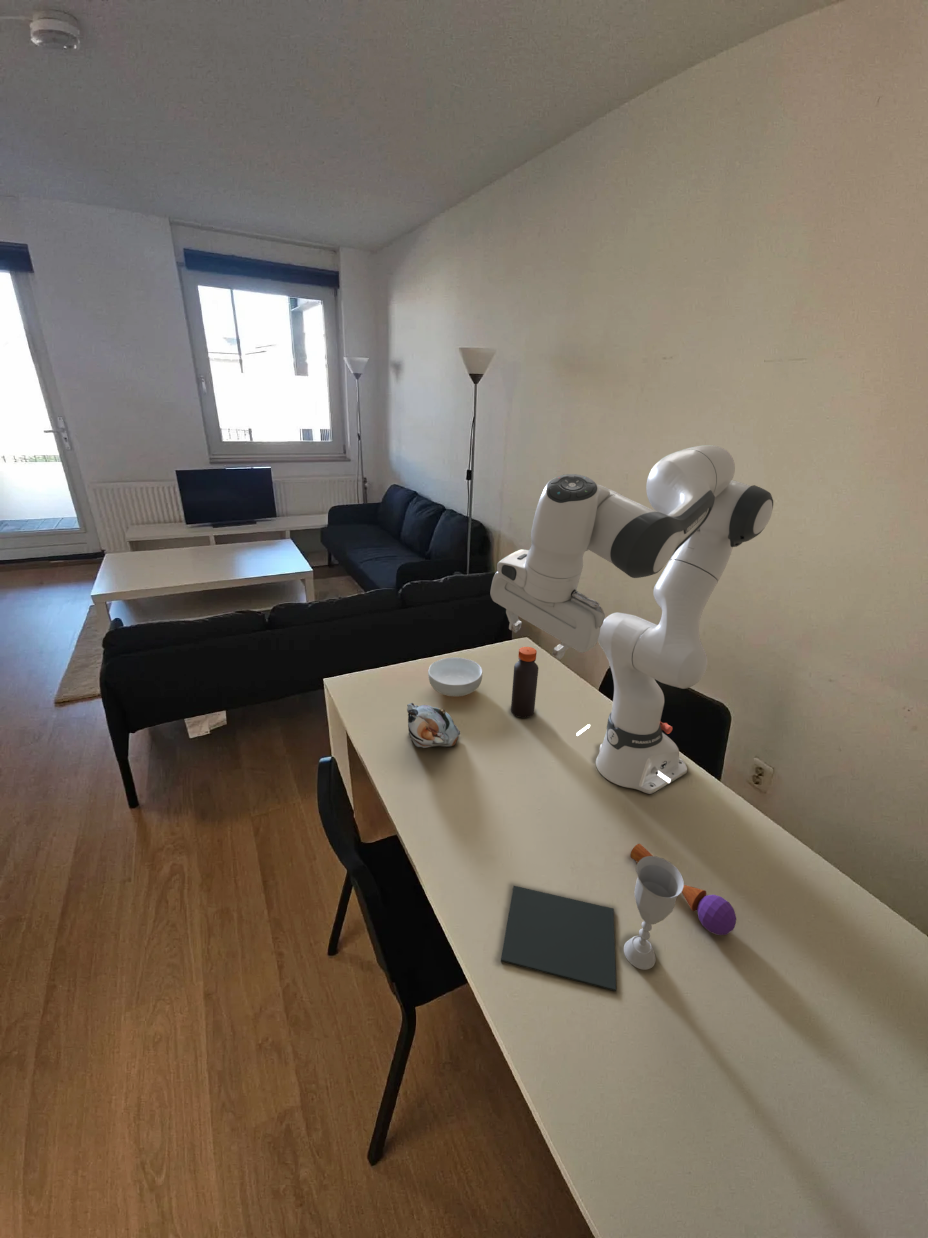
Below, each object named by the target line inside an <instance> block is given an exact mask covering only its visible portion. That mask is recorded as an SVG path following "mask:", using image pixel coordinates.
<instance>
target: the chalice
mask: <svg viewBox="0 0 928 1238" xmlns="http://www.w3.org/2000/svg"><path fill="white" fill-rule="evenodd" d="M635 869H636V870H635V872H636V876H637V878H636V882H635V886H634V893H633V894H634V899H635V904H636V909H637V910H638V913H639V916H640V918H641V919H642V920H643V921H642V922H641V928H640V929H639V930H638V935H634V936H632V937H631V938H629V939H628V940H627V941H625V943H624V946H623V955H624V957H625V958H626V960H627V961H628V962H629V964H630V965H632V966H634V967H635V968H636V969H640V970H644V971H645V970H646V971H647V970H650V969H651V968H653V967H654V966H655V965H656V964H655V963H656V954H655V951H654V948H653V945H652V943H651V942H650V941H649V940H650V938H651V933H650V932H651V931H652V929H653V927H652V926H653V925H657V924H658V923H660V922H662V921H664V920H665V919H667V917H668V916H669V915H671V913H673V910H674V909H675V905H676V901H677V897H678V896H679V895H680V894H682V890H683V887H684V885H685V884H684V883H685V882H684V879H683V876H682V873H681V872H680V870H679V868H678V867H676V866H675V865H674V864H673V863H672V862H670V861H669V860H667V859H665V858H663V857H660V856H656V855H653V856H647V857H644V858H642V859H641V860H640V861H639V862H637V864H636V868H635Z"/></svg>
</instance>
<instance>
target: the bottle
mask: <svg viewBox="0 0 928 1238" xmlns="http://www.w3.org/2000/svg"><path fill="white" fill-rule="evenodd" d="M537 652H538V651H537V649H535V648H534V647H532V646H521V647H519V648H518V657H517V658H518V660H517V661H516V662H515V663H514V665H513V674H512V675H513V676H512V679H513V680H512V689H511V690H512V691H511V701H510V704H511V705H510V713H512V714H513V716H515V717H518V718H521V719H525V718H526V719H527V718H529V717H532V716H533V715H534V713H535V707H536V698H537V687H538V678H539V665H538V664H537V663H536V660H537Z"/></svg>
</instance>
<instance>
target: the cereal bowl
mask: <svg viewBox="0 0 928 1238" xmlns="http://www.w3.org/2000/svg"><path fill="white" fill-rule="evenodd" d="M427 670H428V672H427V676H428V681H429V684H430V686H431V688H433V689H434V690H435V691H436V692H437V693H439V694H441V695H444V696H447V697H464V696H466V695H469V694H472V693H474V692H475V691H476V690H477V689H478V688H479V687H480V686H481V683H482V680H483V668H482V667H481V665H480V664H479V663H478V662H476V661H475V660H472V659H470V658H465V657H459V656H458V657H456V656H454V657H453V656H452V657H444V658H441V659H438V660H436V661H434V662H432V663H431V664H430V665H429V667H428V669H427Z"/></svg>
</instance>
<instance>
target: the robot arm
mask: <svg viewBox="0 0 928 1238" xmlns="http://www.w3.org/2000/svg"><path fill="white" fill-rule="evenodd" d="M735 472H736V464H735V460H734V458H733V456H732V454H731V453H730V452H729V451H728V450H727V449H725V448H724V447H722V446H719V445H715V444H714V445H712V444H705V445H695V446H691V447H687V448H683V449H680V450H677V451H674V452H672V453H669V454H667V455H665V456H663V457H662V458H660V460H658V461H657V462H656V463H655V464H654V465H653V466H652V467H651V469H650V471H649V474H648V475H647V479H646V484H645V489H646V496H647V500H648V502H649V504H650V506H651V508H650V507H648V506H646V505H644V504H642V503H640V502H637V501H635V500H633V499H632V498H630V497H627V496H625V495H623V494H622V493H619V492H617V491H615V490H613V489H611V488H609V487H607V486H604V485H602V484H599V483H597V482H595V481H594V480H593V479H592V478H590V477H588V476H586V475H581V474H577V473H566V474H561V475H557V476H555V477H553V478H551V479H550V480H549V481H548V482H547V483H546V484H545V486H544V488H543V489H542V492H541V493H540V497H539V499H538V502H537V505H536V508H535V513H534V517H533V520H532V525H531V531H530V540H531V541H530V542H531V544H530V547H529V549H518V550H516V551H514V552H512V553H510V554H508V555H506V556H505V557H503V558H502V559H501V560H499V561H498V562H497V564H496V572H495V573H494V575H493V577H492V581H491V584H490V585H491V586H490V591H489V592H490V593H489V594H490V598H491V600H492V601H493V602H494V603H496V604H498V605H499V606H500V607H502V608H504V609H505V614H506V617H507V620H508V622H509V625H508V629H509V630H510V631H512V632H513V633H515V634H516V633H517V632H519V631H520V630H521V628H522V624H523V621H521V620H520V619H519V618H521V619H522V620H524V621H525V622H527V623H529V624H531V625H533V626H535V627H536V628H538V629H539V630H541V631H542V632H545V633H546V634H548V635H550V636H551V637H553V638H555V639H556V640H558V641H560V643H558V644H557V645H556V646H555V647H553V649H552V653H551V656H552V657H554V658H555V659H557V660H558V661H559V660H562V658H564V656H565V654H566V651H567V650H569V649H570V648H571V649H573V650H575V651H576V652H578V653H580V654H585V653H587V652H590V651H591V650H592V649H593V648H594V647H595V646H596V645H597V644H598V645H599V647H600V648H601V650H602V651H603V653H604V655H605V657H606V659H607V661H608V664H609V667H610V671H611V674H612V680H613V698H612V706H611V711H610V713H609V715H608V718H607V723H606V731H605V735H604V736H603V737H604V738H603V742H602V743H600V745H599V752H598V755H597V757H596V759H595V767H596V769H597V770H598V771H597V772H599V774H600V775H601V776H602V777H603V778H605V779H606V780H608V781H609V782H611V783H613V784H615V785H617V786H620V787H623V788H628V789H632V790H633V789H634V790H637V791H640V792H643V793H644V794H649V795H653V794H654V793H656V792H657V791H659V790H661V789H662V788H664V787H666V786H668V785H670V784H671V783H672V782H674V781H676V780H677V779H679V778H681V777H683V776H684V775H686V774H687V773H688V767H687V765H686V763H685V761H684V760H683V759H682V758H681V757H680V749H679V747H678V745H677V744H676V743H675V742H674V740H673V739H671V738H670V737H669V736H668V734H671V733H672V731H673V726H671V725H669V724H668V722H662V720H661V719H662V715H663V710H664V707H665V695H664V692H663V690H662V688H661V687H660V685H659V684H658V683H657V681H658V682H660V683H661V684H665V685H668V686H671V687H675V688H679V689H682V690H685V689H689V688H691V687H693V686H695V685H697V684H698V683H699V682H700V681H701V680H702V679H703V678H704V676H705V674H706V673H707V669H708V665H709V664H708V662H709V661H708V655H707V651H706V650H705V648H704V646H703V644H702V641H701V640H702V639H701V637H700V636H701V635H700V623H701V618H702V614H703V611H704V610H705V607H706V606H707V604H708V601H709V599H710V597H711V596H712V594H713V592H714V590H715V588H716V586H717V584H718V583H719V582H720V579H721V577H722V576H723V573H724V572H725V569H726V567H727V565H728V563H729V560H730V558H731V555H732V551H733V548H737V547H739V546H741V545H742V544H743V543H745V542H746V543H747V542H749V541H751V540H752V539H754V538H757V536H759V535H761V533H762V532H763V530H764V529H765V528H766V526H767V525H768V523H769V522H770V520H771V517H772V514H773V509H774V498H773V496H772V493H771V492H770V491H768V490H766V489H764V488H763V487H761V486H758V485H755V484H754V485H753V484H752V485H750V484H747V483H744V482H741V481H738V480H734V476H735ZM588 551H590V552H592V553H594V555H597V556H598V557H600V558H602V559H604V560H605V561H607V562H608V563H610V564H612V565H613V566H615V567H616V568H617V569H618V570H620V571H622V572H623V573H624V574H626V575H627V576H628V577H630V578H632V579H639V578H640V579H641V578H646V577H650V576H653V575H656V574H658V573H660V572H661V570H662V569H663V568H664V569H663V570H662V573H661V574H660V576H659V578H658V580H657V581H656V583H655V585H654V587H653V591H652V592H653V598H654V601H655V602H656V604H657V606H658V607H659V608H660V609H661V617H660V620H659V623H658V624H656V623H654V622H652V621H649V620H647V619H644V618H642V617H640V616H637V615H635V614H630V613H625V612H619V611H618V612H613V613H611V614H608V616H606V612H605V610H604V609H603V607H601V605H600V603H599V602H598V601H597V600H595V599H593V598H590V597H588V596H587V595H585V594H583V593H582V592H580V591H578V586H579V583H580V580H581V575H582V572H583V568H584V555H585V553H586V552H588ZM590 727H591V724H590V723H589V724H587V725H585V726H584V727H583V728H581V729H580V730H579V731H577V732H576V736H577V737H578V736H580V735H581V734H582V733H584V732H585V731H586V730H587V729H589V728H590ZM663 731H664V732H663Z"/></svg>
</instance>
